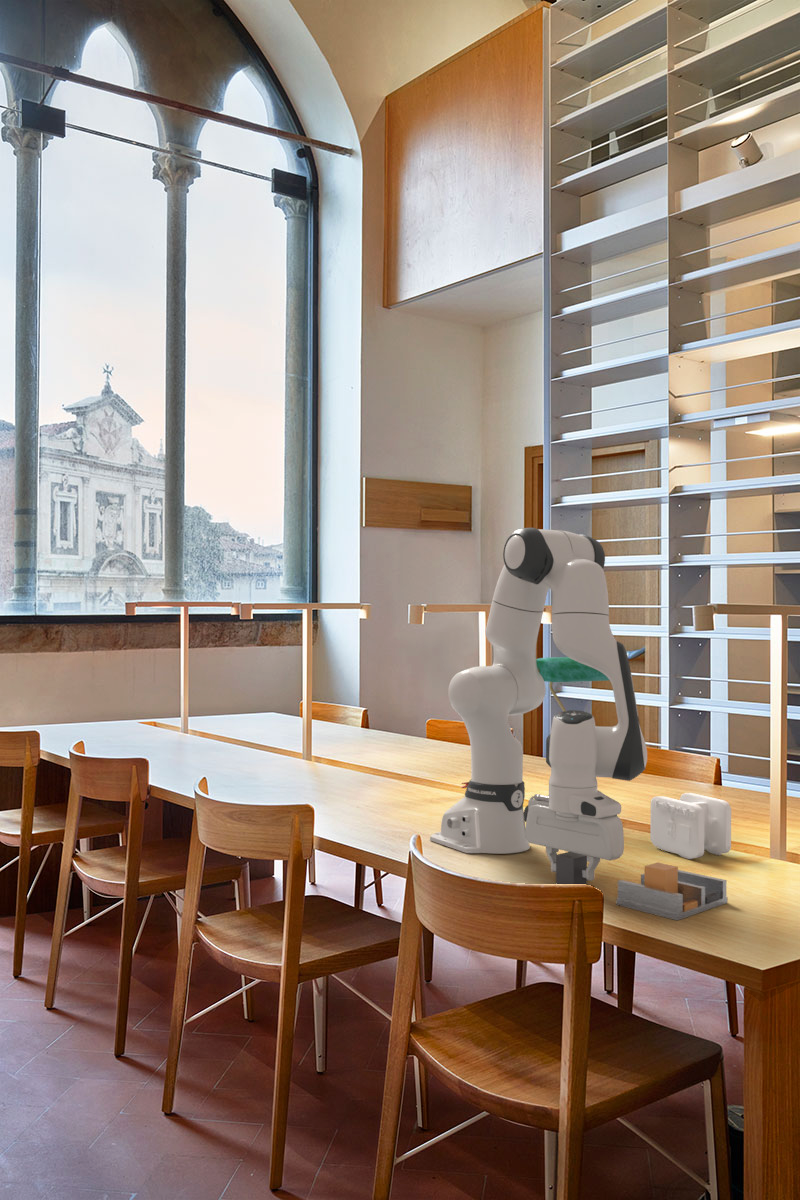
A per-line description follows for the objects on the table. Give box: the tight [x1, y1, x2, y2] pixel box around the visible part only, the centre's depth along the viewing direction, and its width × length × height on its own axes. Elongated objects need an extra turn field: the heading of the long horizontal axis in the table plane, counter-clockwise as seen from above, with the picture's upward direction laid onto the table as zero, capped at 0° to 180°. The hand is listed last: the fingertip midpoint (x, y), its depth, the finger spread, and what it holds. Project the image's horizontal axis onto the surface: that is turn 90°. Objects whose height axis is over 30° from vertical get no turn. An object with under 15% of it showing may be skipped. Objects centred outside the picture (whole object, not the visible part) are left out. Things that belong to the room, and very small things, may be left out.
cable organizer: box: [649, 792, 732, 860], centre depth 217 cm, size 15×11×12 cm
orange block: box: [644, 862, 679, 893], centre depth 175 cm, size 4×4×6 cm
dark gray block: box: [555, 851, 588, 885], centre depth 187 cm, size 4×4×6 cm
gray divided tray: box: [615, 869, 729, 921], centre depth 178 cm, size 12×16×4 cm
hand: (572, 875), depth 187 cm, fingers open, 6 cm apart
